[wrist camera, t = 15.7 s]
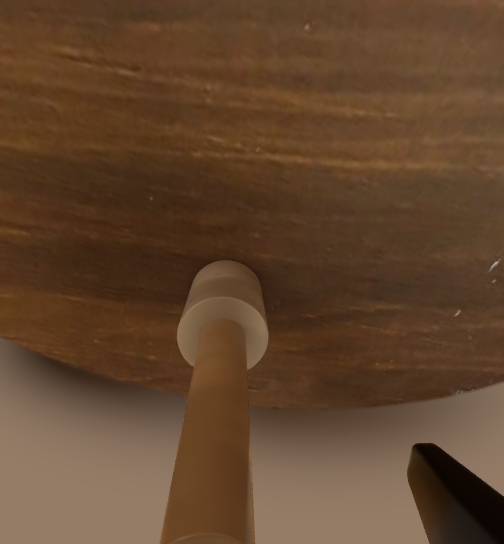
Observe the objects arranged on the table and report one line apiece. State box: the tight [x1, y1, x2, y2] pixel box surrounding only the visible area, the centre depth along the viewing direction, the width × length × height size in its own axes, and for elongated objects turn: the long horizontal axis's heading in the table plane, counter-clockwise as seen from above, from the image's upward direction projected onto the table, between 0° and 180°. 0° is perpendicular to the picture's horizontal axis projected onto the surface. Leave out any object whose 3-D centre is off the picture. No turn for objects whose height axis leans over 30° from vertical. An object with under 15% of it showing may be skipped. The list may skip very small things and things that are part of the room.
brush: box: [160, 260, 269, 544], centre depth 11 cm, size 3×3×11 cm
